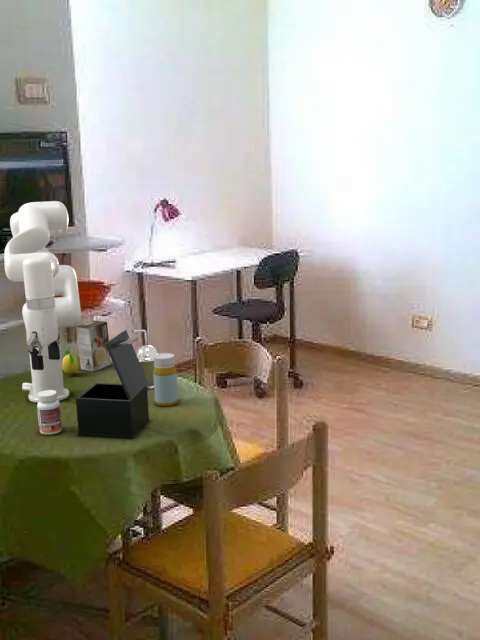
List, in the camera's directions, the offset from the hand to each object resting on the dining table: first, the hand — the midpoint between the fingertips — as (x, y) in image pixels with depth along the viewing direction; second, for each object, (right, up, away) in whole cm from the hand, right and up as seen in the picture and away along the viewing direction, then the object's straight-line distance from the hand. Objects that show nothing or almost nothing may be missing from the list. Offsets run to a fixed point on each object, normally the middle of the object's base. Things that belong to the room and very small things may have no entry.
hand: (46, 364), depth 212 cm
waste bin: (+18, -18, +6) cm, 26 cm away
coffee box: (+2, -5, +63) cm, 64 cm away
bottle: (+30, -13, +25) cm, 41 cm away
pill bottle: (0, -19, +5) cm, 20 cm away
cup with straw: (+23, -10, +40) cm, 47 cm away
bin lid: (+22, 0, 0) cm, 22 cm away
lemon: (-5, -7, +55) cm, 56 cm away
